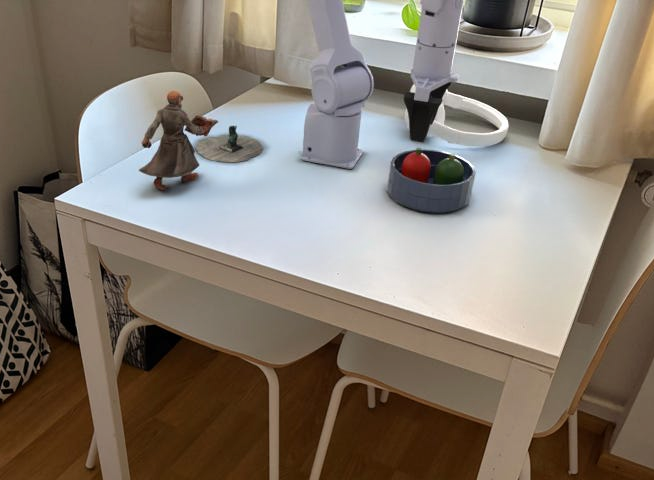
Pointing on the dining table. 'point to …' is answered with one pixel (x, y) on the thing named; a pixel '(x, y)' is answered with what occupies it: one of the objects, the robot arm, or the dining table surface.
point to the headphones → (465, 137)
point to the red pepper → (416, 166)
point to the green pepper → (448, 171)
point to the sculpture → (229, 147)
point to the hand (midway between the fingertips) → (421, 131)
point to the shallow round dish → (430, 185)
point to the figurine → (174, 142)
